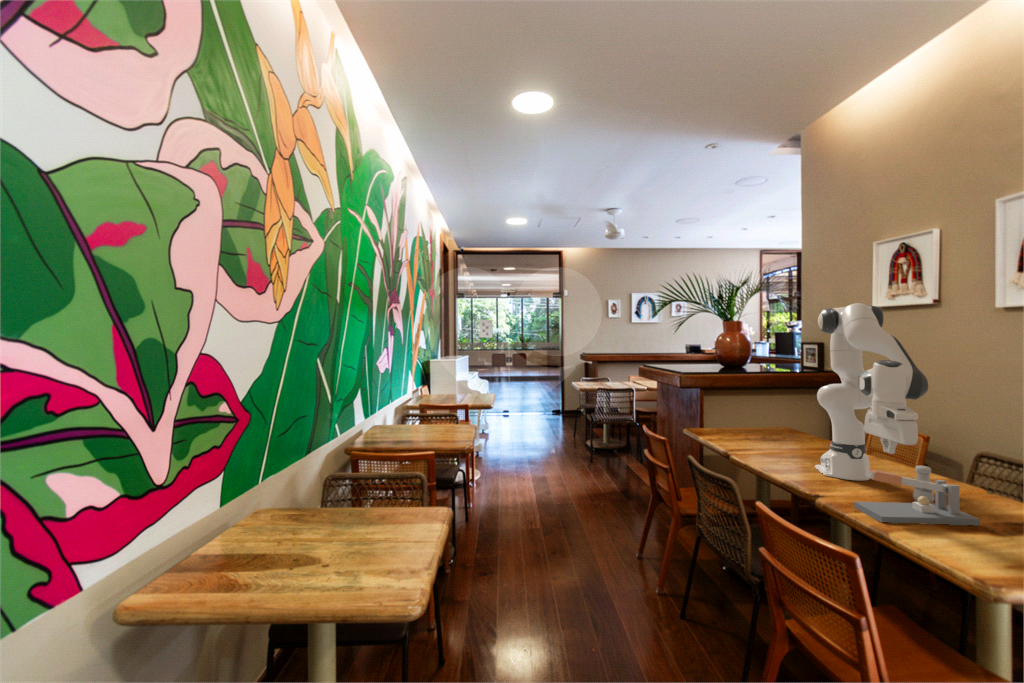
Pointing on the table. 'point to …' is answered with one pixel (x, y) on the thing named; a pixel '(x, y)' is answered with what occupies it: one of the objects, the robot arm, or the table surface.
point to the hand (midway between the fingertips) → (889, 452)
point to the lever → (906, 481)
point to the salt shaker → (924, 476)
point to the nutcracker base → (913, 514)
